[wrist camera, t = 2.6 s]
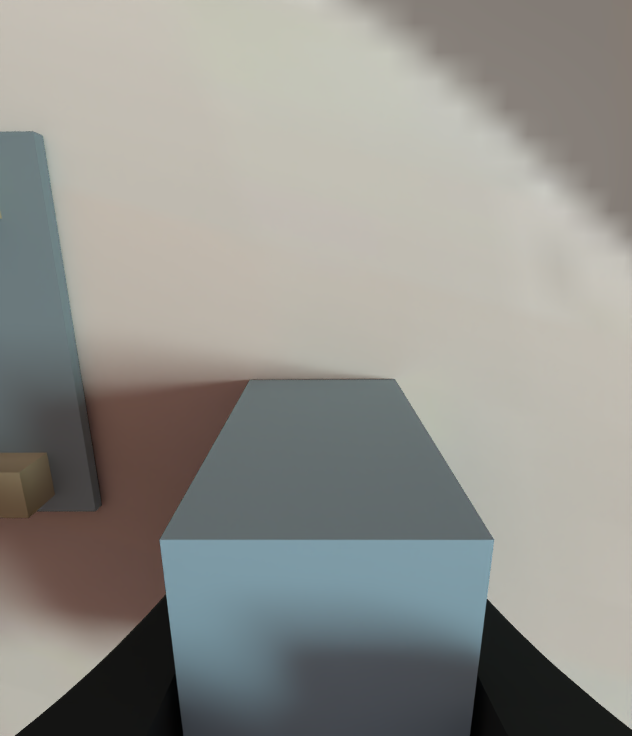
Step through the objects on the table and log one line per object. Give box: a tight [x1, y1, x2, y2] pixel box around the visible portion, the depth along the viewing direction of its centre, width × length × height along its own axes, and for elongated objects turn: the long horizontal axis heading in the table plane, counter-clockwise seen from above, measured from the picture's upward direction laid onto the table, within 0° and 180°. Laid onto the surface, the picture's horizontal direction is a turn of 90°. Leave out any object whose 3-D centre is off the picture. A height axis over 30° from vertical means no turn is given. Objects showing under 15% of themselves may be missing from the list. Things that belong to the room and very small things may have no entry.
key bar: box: [160, 379, 494, 736], centre depth 8 cm, size 8×4×6 cm, turn 1°
